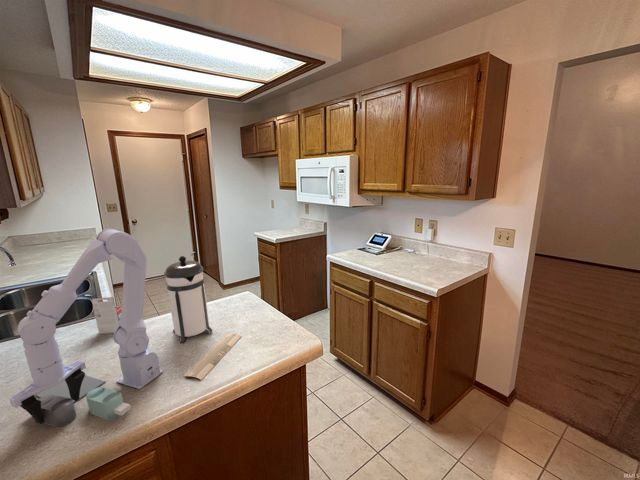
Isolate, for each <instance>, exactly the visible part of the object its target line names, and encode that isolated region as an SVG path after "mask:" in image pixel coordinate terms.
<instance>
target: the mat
mask: <svg viewBox="0 0 640 480" xmlns="http://www.w3.org/2000/svg"><path fill="white" fill-rule="evenodd" d="M104 384H106V381H105V380H102V379H98V378H95V377H92V376H90V375H86V374H85V377H84V379H83V381H82V384H81V388H80V395H79V400H78V401H80V400H81V399H83V398H84V397H86V395H87V393H88V392H89V391H91V390H93V389H95V388H98V387H102V385H104ZM46 395H55V396H60V397H65V398H70V399H71V397H70V393H69V389H68V386H67V383H66V381H65V380H63V381H62V382H61V383H59V384H57V385H55V386H53V387H51V388H48V389H46V390H44V391H42V392H40V393H38V394H37V395H35V396H34V397H36V398H38V399H39V398H41V397H43V396H46ZM78 401H75V400H73V404H75V403H77V402H78Z"/></svg>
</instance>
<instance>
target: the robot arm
mask: <svg viewBox="0 0 640 480" xmlns="http://www.w3.org/2000/svg"><path fill="white" fill-rule="evenodd" d="M111 255H113V256H115V257H116V258H118V260H119V261H121V262H122V263H123V264H124V269H123V285H122V287H123V288H122V299H121V300H122V303H121V310H122V316H121V319H120V320H119V321H118V327H117V329H116V331H115V332H114V333H113V335H112V336H113V337H112V338H113V340H114V343H116V344H117V345H119V348H118V352H117V355H118V358H119V363H120V368H121V372H122V376H121V377H119V378H117V379H116V383H119V384H121V385H125V386H128V387H131V388H133V389H138V390H140V389H142V388H143V387H145V386H146V385H147V384H149V383H150V382H151V381H153V380H154V379H156V378H157V377H158V376H159V375H160V374H162V373H163V372H164V371H163V370H162V369H160V365H159V358H158V355H157V353H156V352H154V351H152V350H151V349H150V348H149V345H150V344H149V343H150V338H149V336H148V335H147V325H146V324H145V321H144V318H143V317H144V303H145V290H146V289H145V286H146V273H147V255H146V254H145V253H144V251H143V250H142V248H141V246H140V244H139V241H138V240H137V239H136V238H135V237H134V236H132V235H130V233H127V232H123V231H120V230H118V229H115V228H105V229H103V230H100V232H98V234H97V235H96V237H95V238H94V239H92V240H91V241H90V242H89V243H88V245H87V247H86V248H85V250H84V252H83V253H82V254H81V256H79V259H78V260H77V261H76V262H75V264H74V265H73V267H72V268H71V270H69V272H68V274H66V276H65V278H64V279H63V281H62V282H61V283H60V284H57V285H53V286H50V288H49V289H48V290H45V289H44V290H43V291H42V293H41V299H40V300H39V301H38V303H37V304H36V305H35V306H34V308H33V309H32V310H28V311H27V313H26V316H25V317H23V318H22V319H21V320H20V321H19V322H18V324H17V329H16V331H17V333H18V335H19V336H20V339H21V341H23V342H22V345H23V348H24V351H23V352H24V355H25V357H26V362H27V365H28V369H29V371H30V376H31V378H32V383H30V384H29V385H27V386H26V387H25V388H23V389H22V390H20V391H19V392H18V393H16V394H15V395H13V396H11V397H10V398H8V400H9V404H10V406H11V407H13V408H15V409H17V408H19V407H20V408H22V409H23V410H25V411H26V412H27V413H28V414H29V415H30V416H31V417H32V418H33V420H34V421H35V423H36V424H39V425H43V424H44V417H43V414H42V411H41V401H40V400H37V399H38V398H37V397H36V396H35V395H37V394H38V393H40V392H42V391H44V390H46V389H48V388H51V387H53V386H55V385H57V384H59V383H61V382H62V381H63V380H65V381H66V383H67V386H68V389H69V393H70V397H71V399H72V400H75V401H77V402H79V401H80V400H79V395H80V388H81V384H82V381H83V379H84V377H85V375H86V372H85V371H84V369H86V368H87V366H86V362H85V361H84V360H80V359H79V360H77V361H75V362H73V363H70V364H68V365H65V366H64V363H63V360H62V359H63V358H62V355H61V351H60V348H59V347H60V346H59V344H58V341H57V339H56V337H55V334H56V331H57V326H56V325H57V323H58V322H60V321H61V319H62V317H64V315H65V314H66V313H67V311H68V310H69V309H70V308H71V305H73V303H74V302H75V301H76V299H77V298H78V295H77V292H76V291H77V289H78V288H79V287H80V285H81V284H82V283H83V282H84V281H85V280H86V279H87V277H88V276H89V275H90V274H91V273H92V272H93V270H94V269H95V268H96V266H97V265H99V264H101V263H104V262H107V261H111V260H114V259H113V258H112V256H111Z"/></svg>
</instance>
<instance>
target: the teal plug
mask: <svg viewBox="0 0 640 480" xmlns="http://www.w3.org/2000/svg"><path fill="white" fill-rule="evenodd" d="M85 398H86V403H87V407H88V410H89V413H90V414H92V415H94V416H98V417H100V418H102V419H105V420H108V421H113V420H115V419H118V418H119V417H122V416H123V415H125V414H126V413H127V412H128V411H130V410H131V404H130V403H127V402H124V399H123V395H122V393H121V392H119V391H116V390H113V389H111V388H106V387H104V386H99V387H98V388H95V389H93V390H91V391H89V392H88V393H87V395H86V396H85Z"/></svg>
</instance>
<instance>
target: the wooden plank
mask: <svg viewBox="0 0 640 480" xmlns="http://www.w3.org/2000/svg"><path fill="white" fill-rule="evenodd" d="M241 338H242V335H241V334H237V333H233V332H232V333H226V334H225V335H224V336H222V337H221V339H219V341H218V342H216V344H215V345H214V346H212V348H211V349H210V350H209V351H208V352H207V353H206V354H205V355H203V357H202V358H201V359H200V360H198V362H196V364H194V365H193V366H192V367H191V369H189V370H188V371H187V373H185V374H184V375H183V378H187V377H193V378H197V379H199V380H200V381H202V380H204V378H205V377H206V376H207V375H208V374H209V373H210V372H211V371H212V370H213V368H214V367H215V366H216V365H217V364H218V363H220V360H221V359H222V358H223V357H224V356H225V355H227V353H228V352H229V351H230V350H231V349H232V347H233V346H234V345H235V344H236V343H238V341H239V340H240V339H241Z"/></svg>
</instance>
